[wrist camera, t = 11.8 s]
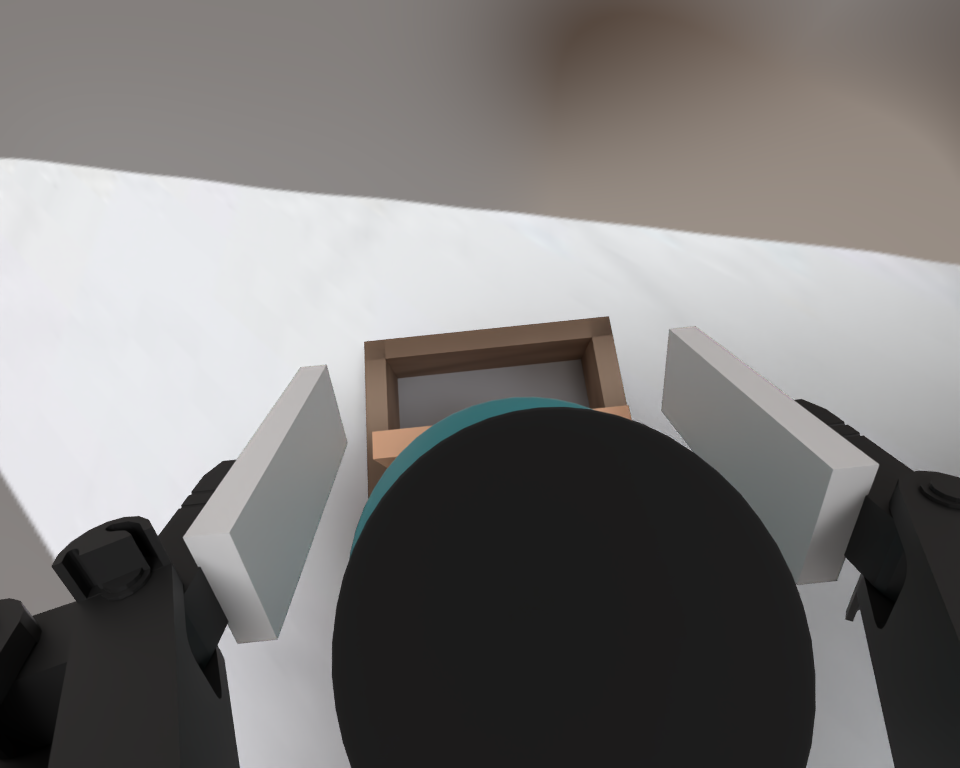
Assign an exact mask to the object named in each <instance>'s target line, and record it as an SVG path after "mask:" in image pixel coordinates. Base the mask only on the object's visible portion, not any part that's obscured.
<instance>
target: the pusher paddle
mask: <svg viewBox="0 0 960 768" xmlns="http://www.w3.org/2000/svg"><path fill="white" fill-rule="evenodd" d="M593 410H596V411H601V412H605V413H610V414H615V415H618V416H621V417H624V418H627V419H630V420H631V415H630V410H629V405H625V406H615V407H606V408H596V409H593ZM430 427H431V426H423V427H414V428H404V429H394V430H385V431H375V432H372V442H373V459H374V460H375V461H377V462H378V463H380V464H382V465H383V466H385V467H386V468H388V467H389V466H390V465H391V463H392V462H393V461H394V460H395V459H396V457H397V456H398V455H399V454H400V453H401V452H402V451H403V450H404V449H405V448H406V447H407V446H408V445H409V444H410V443H411V442H412V441H413V440H414V439H415V438H416V437H418V436H419V435H420V434H422V433H423V432H424V431H426V430H427V429H428V428H430Z"/></svg>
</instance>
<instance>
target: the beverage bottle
mask: <svg viewBox="0 0 960 768" xmlns="http://www.w3.org/2000/svg"><path fill="white" fill-rule="evenodd" d="M332 680H333V689H334V698H335V708H336V713H337V717H338V722H339V727H340V731H341V736H342V740H343V744H344V747H345V750H346V753H347V756H348V759H349V762H350V765H351V768H806V765H807V761H808V757H809V753H810V749H811V744H812V736H813V727H814V718H815V709H816V706H815V669H814V659H813V650H812V641H811V636H810V632H809V628H808V624H807V619H806V615H805V611H804V607H803V604H802V601H801V598H800V595H799V592H798V590H797V587H796V584H795V581H794V578H793V576H792V573H791V571H790V569H789V567H788V565H787V563H786V561H785V559H784V557H783V555H782V553H781V551H780V549H779V547H778V545H777V543H776V542H775V540H774V539H773V537H772V536H771V534H770V533H769V531H768V530H767V528H766V527H765V525H764V524H763V522H762V521H761V519H760V518H759V517H758V515H757V514H756V513H755V511H754V510H753V509H752V508H751V506H750V505H749V504H748V503H747V501H746V500H745V499H744V497H743V496H742V495H741V494H740V493H739V492H738V491H737V490H736V489H735V488H734V487H733V486H732V485H731V484H730V483H729V482H728V481H727V480H726V479H725V478H724V477H723V476H722V475H721V474H720V473H719V472H718V471H717V470H715V469H714V468H713V467H712V466H710V465H709V464H708V463H707V462H705V461H704V460H703V459H702V458H700V457H699V456H698V455H697V454H695V453H694V452H692V451H691V450H689V449H687V448H686V447H684V446H683V445H681V444H679V443H678V442H676V441H675V440H673V439H672V438H670V437H668V436H667V435H664V434H662V433H660V432H658V431H656V430H654V429H652V428H650V427H648V426H646V425H644V424H641V423H638V422H636V421H633V420H630V419H627V418H624V417H621V416H618V415H615V414H610V413H605V412H601V411H596V410H593V409H590V408H588V407H585V406H582V405H579V404H576V403H572V402H567V401H563V400H558V399H552V398H542V397H511V398H504V399H498V400H491V401H488V402H484V403H480V404H477V405H473V406H470V407H468V408H465V409H463V410H461V411H458V412H456V413H453V414H451V415H450V416H448V417H446V418H444V419H443V420H441V421H439V422H437V423H436V424H434V425H432V426H431V427H430V428H428V429H427V430H426V431H424V432H423V433H422V434H420V435H419V436H418V437H416V438H415V439H414V440H413V441H412V442H411V443H410V444H409V445H408V446H407V447H406V448H405V449H404V450H403V451H402V452H401V453H400V454H399V455H398V456H397V457H396V459H395V460H394V461H393V462H392V463H391V465H390V466H389V467H388V468H387V469H386V471H385V472H384V474H383V475H382V477H381V478H380V480H379V481H378V483H377V484H376V486H375V488H374V489H373V491H372V493H371V495H370V497H369V499H368V501H367V503H366V505H365V507H364V509H363V512H362V515H361V517H360V520H359V523H358V526H357V528H356V532H355V536H354V540H353V544H352V548H351V552H350V559H349V562H348V565H347V568H346V571H345V574H344V577H343V581H342V585H341V590H340V594H339V598H338V602H337V607H336V616H335V624H334V632H333V641H332Z"/></svg>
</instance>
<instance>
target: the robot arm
mask: <svg viewBox="0 0 960 768" xmlns="http://www.w3.org/2000/svg"><path fill="white" fill-rule="evenodd" d="M661 411H662V412H663V413H664V415H665V416H666V417H667V419H668V420H669V421H670V422H671V424H672V425H673V426H674V428H675V429H676V430H677V431H678V433H679V434H680V435H681V437H682V438H683V439H684V440H685V442H686V443H687V444H688V445H689V447H690V448H691V449H692V451H693V452H694V453H695V454H697V455H698V456H699V457H700V458H702V459H703V460H704V461H705V462H707V463H708V464H709V465H710V466H712V467H713V468H714V469H715V470H717V471H718V472H719V473H720V474H721V475H722V476H723V477H724V478H725V479H726V480H727V481H728V482H729V483H730V484H731V485H732V486H733V487H734V488H735V489H736V490H737V491H738V492H739V493H740V494H741V495H742V496H743V497H744V499H745V500H746V501H747V503H748V504H749V505H750V506H751V508H752V509H753V510H754V511H755V513H756V514H757V515H758V517H759V518H760V519H761V521H762V522H763V524H764V525H765V527H766V528H767V530H768V531H769V533H770V534H771V536H772V537H773V539H774V540H775V542H776V543H777V545H778V547H779V549H780V551H781V553H782V555H783V557H784V559H785V561H786V563H787V565H788V567H789V569H790V571H791V573H792V576H793V578H794V581H795V583H796V584H797V585H801V584H810V583H820V582H829V581H837V579H838V576H839V574H840V571H841V568H842V565H843V563H844V560H845V557H846V558H847V559H848V560H849V561H850V562H851V563H852V564H853V565H854V566H855V567H856V568H857V570H858V571H859V572H860V573H861V575H860V577H859V580H858V582H857V585H856V587H855V590H854V592H853V595H852V597H851V600H850V602H849V605H848V607H847V610H846V618H845V619H846V620H849V621H853V619H854V617H855V615H856V612H857V611H858V610H860V611H861V616H862V620H863V625H864V629H865V634H866V638H867V643H868V648H869V652H870V657H871V661H872V666H873V670H874V675H875V680H876V684H877V689H878V693H879V698H880V702H881V707H882V712H883V716H884V721H885V725H886V730H887V734H888V739H889V744H890V748H891V753H892V757H893V762H894V766H895V768H960V478H959V477H955V476H951V475H947V474H943V473H939V472H929V471H915V472H914V471H913V470H911V469H910V468H908V467H907V466H905V465H904V464H903V463H901V462H900V461H898V460H897V459H896V458H894V457H893V456H891V455H890V454H889V453H887V452H886V451H884V450H883V449H882V448H880V447H879V446H877V445H876V444H875V443H873V442H872V441H870V440H869V439H867V438H866V437H865V436H860V433H859V432H858V431H856V430H855V429H853V428H852V427H851V426H849V425H845V424H844V421H842V420H841V419H839V418H838V417H836V416H835V415H834V414H832V413H831V412H829V411H828V410H827V409H824V408H822V407H820V406H817V405H815V404H812V403H810V402H808V401H805V400H803V399H799V400H793V399H792V398H790V397H789V396H788V395H786V394H785V393H784V392H782V391H781V390H780V389H778V388H777V387H776V386H774V385H773V384H772V383H770V382H769V381H768V380H766V379H765V378H764V377H762V376H761V375H760V374H758V373H757V372H756V371H754V370H753V369H752V368H750V367H749V366H748V365H746V364H745V363H744V362H742V361H741V360H740V359H738V358H737V357H736V356H734V355H733V354H732V353H730V352H729V351H728V350H726V349H725V348H724V347H722V346H721V345H720V344H718V343H717V342H716V341H714V340H713V339H712V338H710V337H709V336H708V335H706V334H705V333H704V332H702V331H701V330H700V329H698V328H697V327H696V326H694V327H684V328H675V329H669V337H668V348H667V358H666V368H665V378H664V388H663V398H662V409H661ZM346 446H347V439H346V436H345V432H344V428H343V424H342V421H341V417H340V413H339V409H338V406H337V402H336V398H335V394H334V390H333V387H332V383H331V379H330V375H329V372H328V368H327V365H319V366H309V367H300V369H299V370H298V372H297V373H296V374H295V376H294V377H293V379H292V380H291V382H290V383H289V385H288V386H287V387H286V389H285V390H284V392H283V393H282V395H281V396H280V398H279V399H278V401H277V402H276V403H275V405H274V406H273V408H272V409H271V411H270V412H269V414H268V415H267V416H266V418H265V419H264V421H263V422H262V424H261V425H260V427H259V428H258V429H257V431H256V432H255V434H254V435H253V437H252V438H251V440H250V441H249V442H248V444H247V445H246V447H245V448H244V450H243V451H242V453H241V454H240V455H239V457H238V458H237V460H229V461H222V462H221V463H220V464H218V465H217V466H216V467H215V468H213V469H212V470H211V471H209V472H208V473H207V474H205V475H204V476H203V477H202V479H201V480H200V481H199V483H198V484H197V485H196V487H195V488H194V489H193V491H192V495H189V496H188V497H187V498H186V500H185V501H184V502H183V504H182V505H181V506H182V508H181V509H178V510H177V512H176V513H175V514H174V516H173V517H172V518H171V520H170V521H169V522H168V524H167V525H166V526H165V528H164V529H163V530H162V532H161V533H160V534H159V535H158V536H157V534H156V532H155V530H154V528H153V526H152V525H151V523H150V521H149V520H148V519H145V518H143V517H140V516H134V517H123V518H119V519H116V520H112V521H109V522H106V523H104V524H102V525H99V526H97V527H95V528H93V529H91V530H89V531H87V532H86V533H84V534H83V535H81V536H79V537H78V538H76V539H75V540H73V541H72V542H71V543H70V544H69V545H68V546H66V547H65V548H64V549H63V550H62V551H61V552H60V553H59V554H58V556H57V557H56V559H55V561H54V563H53V565H52V568H53V569H54V571H55V572H56V573H57V575H58V576H59V578H60V579H61V580H62V582H63V583H64V585H65V586H66V587H67V589H68V590H69V592H70V593H71V594H72V596H73V597H74V599H75V600H76V602H73V603H70V604H67V605H64V606H61V607H58V608H55V609H52V610H49V611H46V612H43V613H40V614H37V615H34V616H32V615H31V614H30V612H29V611H28V610H27V609H26V607H25V606H24V605H23V604H22V602H21V601H18V600H15V599H10V598H9V599H2V600H0V768H240V766H239V759H238V752H237V745H236V738H235V731H234V724H233V717H232V710H231V703H230V696H229V689H228V682H227V674H226V667H225V660H224V657H223V655H222V653H221V651H220V649H219V647H218V643H219V641H220V638H221V636H222V634H223V632H224V630H225V628H226V626H227V624H228V626H229V628H230V630H231V632H232V634H233V636H234V638H235V640H236V642H237V644H240V643H249V642H259V641H268V640H277V639H278V636H279V634H280V631H281V628H282V625H283V622H284V620H285V617H286V614H287V611H288V608H289V606H290V603H291V600H292V597H293V594H294V592H295V589H296V586H297V583H298V581H299V578H300V575H301V572H302V569H303V567H304V564H305V561H306V558H307V555H308V553H309V550H310V547H311V544H312V541H313V539H314V536H315V533H316V530H317V527H318V525H319V522H320V519H321V516H322V513H323V511H324V508H325V505H326V502H327V499H328V497H329V494H330V491H331V488H332V485H333V483H334V480H335V477H336V474H337V471H338V469H339V466H340V463H341V460H342V457H343V455H344V452H345V449H346Z"/></svg>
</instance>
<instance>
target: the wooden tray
mask: <svg viewBox="0 0 960 768" xmlns="http://www.w3.org/2000/svg"><path fill="white" fill-rule="evenodd" d="M364 350H365V389H366V428H367V467H368V499H369V497H370V495H371V493H372V491H373V489H374V488H375V486H376V484H377V483H378V481H379V480H380V478H381V477H382V475H383V474H384V472H385V471H386V469H387V468H386V467H385V466H383V465H382V464H380V463H378V462H377V461H375V460H374V459H373V442H372V432H375V431H385V430H394V429H404V428H414V427H423V426H432V425H434V424H436V423H437V422H439V421H441V420H443V419H444V418H446V417H448V416H450V415H451V414H453V413H456V412H458V411H461V410H463V409H465V408H468V407H470V406H473V405H477V404H480V403H484V402H488V401H491V400H498V399H504V398H511V397H542V398H552V399H558V400H563V401H567V402H572V403H576V404H579V405H582V406H585V407H588V408H590V409H596V408H606V407H615V406H625V405H627V403H626V399H625V394H624V389H623V384H622V379H621V374H620V369H619V364H618V359H617V354H616V349H615V344H614V340H613V335H612V330H611V325H610V320H609V316H608V317H598V318H589V319H579V320H569V321H560V322H550V323H540V324H531V325H521V326H511V327H502V328H492V329H483V330H473V331H463V332H454V333H444V334H434V335H425V336H415V337H405V338H396V339H386V340H377V341H367V342H364Z"/></svg>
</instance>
